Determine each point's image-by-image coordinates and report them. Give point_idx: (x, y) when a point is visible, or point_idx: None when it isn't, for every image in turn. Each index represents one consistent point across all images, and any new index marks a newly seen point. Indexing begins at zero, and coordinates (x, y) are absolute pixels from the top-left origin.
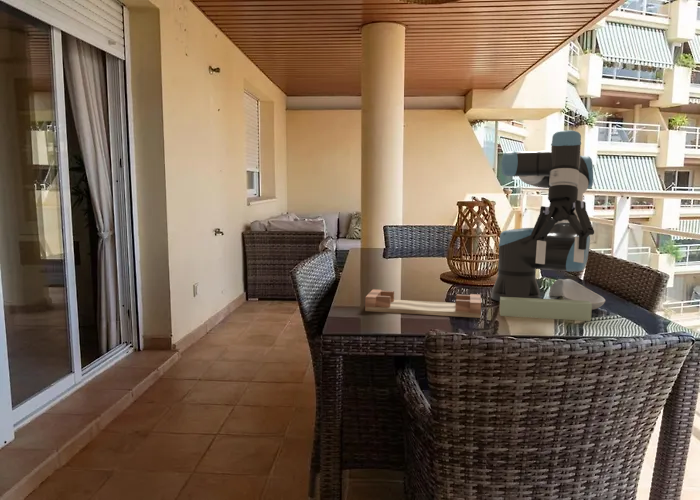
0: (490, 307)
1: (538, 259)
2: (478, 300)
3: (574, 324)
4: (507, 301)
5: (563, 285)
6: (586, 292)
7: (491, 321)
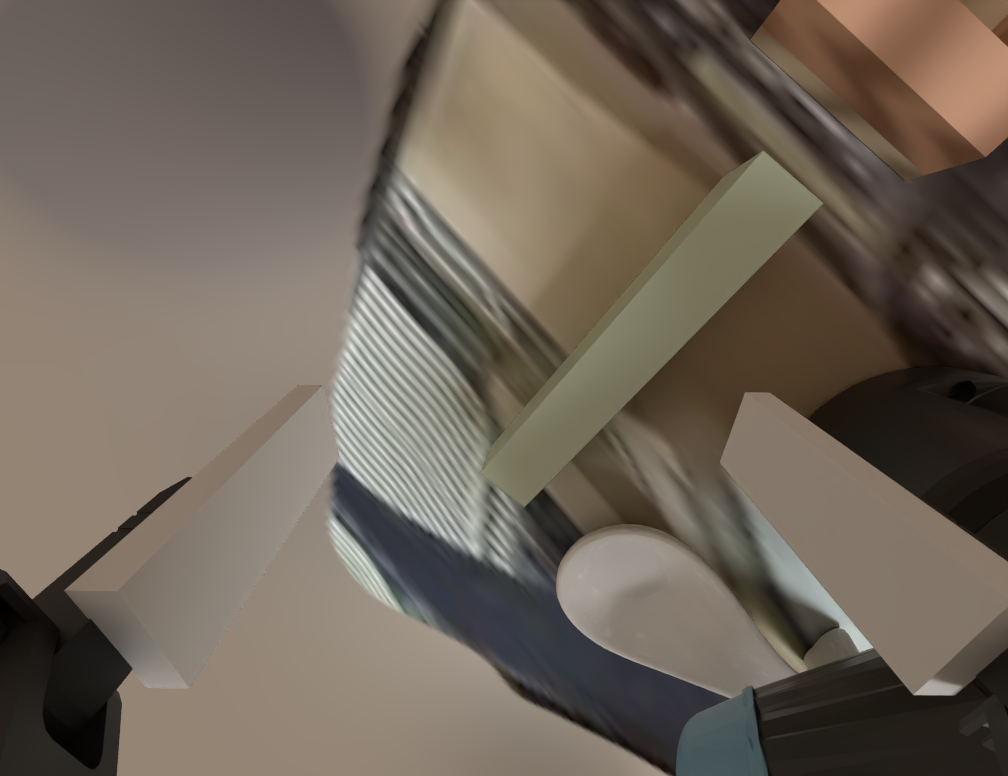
0: (875, 247)
1: (763, 418)
2: (862, 14)
3: (480, 358)
4: (729, 186)
5: (757, 635)
6: (669, 654)
7: (668, 54)
